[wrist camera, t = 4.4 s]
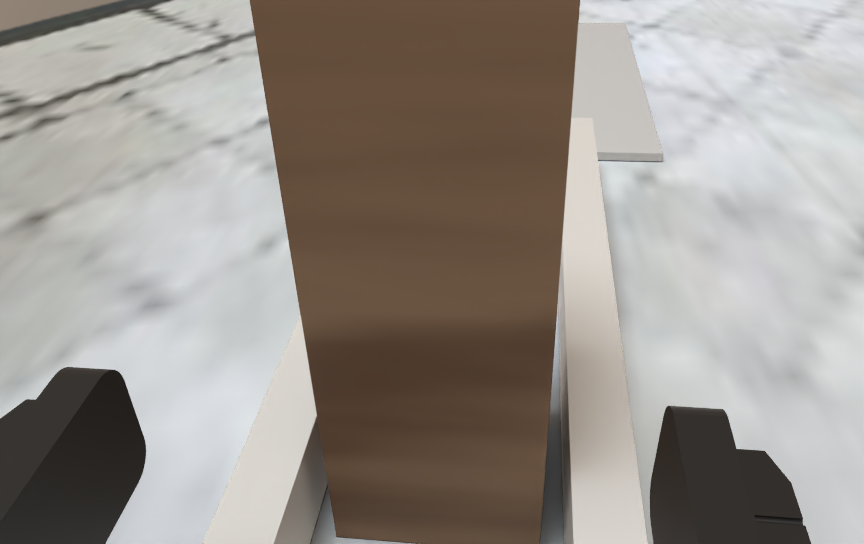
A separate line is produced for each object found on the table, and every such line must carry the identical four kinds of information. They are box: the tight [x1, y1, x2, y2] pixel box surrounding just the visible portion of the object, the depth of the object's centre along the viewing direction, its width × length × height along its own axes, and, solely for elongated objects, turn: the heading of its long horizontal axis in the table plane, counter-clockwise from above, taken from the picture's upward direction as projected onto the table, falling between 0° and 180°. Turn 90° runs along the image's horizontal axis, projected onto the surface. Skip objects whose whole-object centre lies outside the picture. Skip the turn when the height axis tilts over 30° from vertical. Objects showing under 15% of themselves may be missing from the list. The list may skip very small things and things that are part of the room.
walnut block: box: [250, 0, 580, 544], centre depth 17 cm, size 5×5×14 cm
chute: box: [202, 118, 648, 544], centre depth 25 cm, size 26×9×2 cm, turn 173°
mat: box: [571, 23, 663, 161], centre depth 45 cm, size 20×16×1 cm
